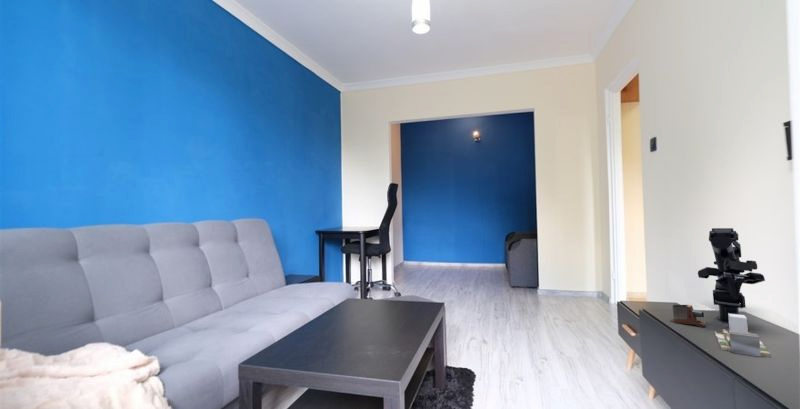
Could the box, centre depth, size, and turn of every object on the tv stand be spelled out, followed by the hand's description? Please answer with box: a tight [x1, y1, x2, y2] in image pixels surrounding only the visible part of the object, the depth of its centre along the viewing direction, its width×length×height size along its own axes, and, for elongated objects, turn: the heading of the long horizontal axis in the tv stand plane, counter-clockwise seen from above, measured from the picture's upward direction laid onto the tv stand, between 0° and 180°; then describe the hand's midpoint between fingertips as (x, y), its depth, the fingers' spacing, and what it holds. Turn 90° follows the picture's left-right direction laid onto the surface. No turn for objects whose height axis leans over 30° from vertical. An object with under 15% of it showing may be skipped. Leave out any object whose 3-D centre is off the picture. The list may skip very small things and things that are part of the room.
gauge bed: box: [714, 328, 772, 358], centre depth 112 cm, size 17×11×6 cm, turn 142°
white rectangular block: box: [715, 313, 749, 334], centre depth 115 cm, size 4×8×8 cm, turn 52°
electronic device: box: [672, 304, 707, 328], centre depth 133 cm, size 4×10×8 cm, turn 44°
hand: (736, 298), depth 123 cm, fingers closed
